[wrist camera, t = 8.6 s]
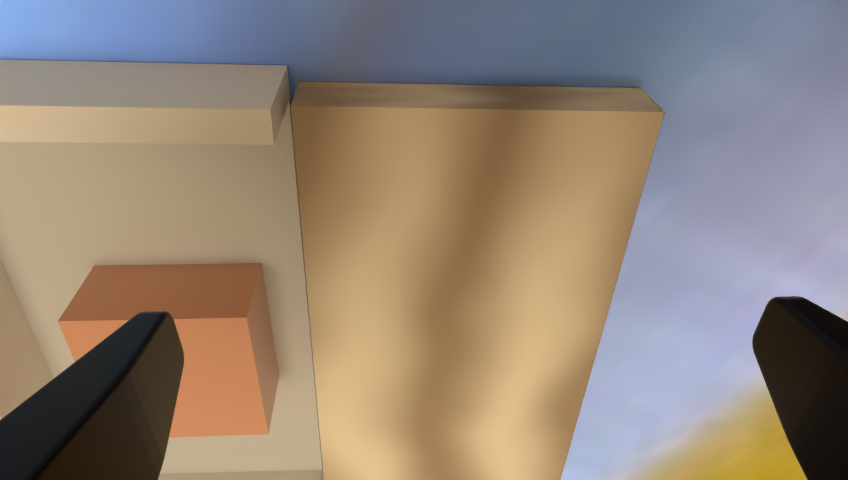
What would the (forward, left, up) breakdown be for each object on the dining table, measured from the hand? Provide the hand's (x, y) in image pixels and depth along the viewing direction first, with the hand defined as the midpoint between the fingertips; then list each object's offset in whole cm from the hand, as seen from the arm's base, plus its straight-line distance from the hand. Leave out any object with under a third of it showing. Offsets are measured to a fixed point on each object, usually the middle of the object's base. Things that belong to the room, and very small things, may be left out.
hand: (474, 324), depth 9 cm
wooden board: (-2, +11, -12) cm, 16 cm away
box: (+10, +11, -12) cm, 19 cm away
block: (+9, +10, -11) cm, 18 cm away
